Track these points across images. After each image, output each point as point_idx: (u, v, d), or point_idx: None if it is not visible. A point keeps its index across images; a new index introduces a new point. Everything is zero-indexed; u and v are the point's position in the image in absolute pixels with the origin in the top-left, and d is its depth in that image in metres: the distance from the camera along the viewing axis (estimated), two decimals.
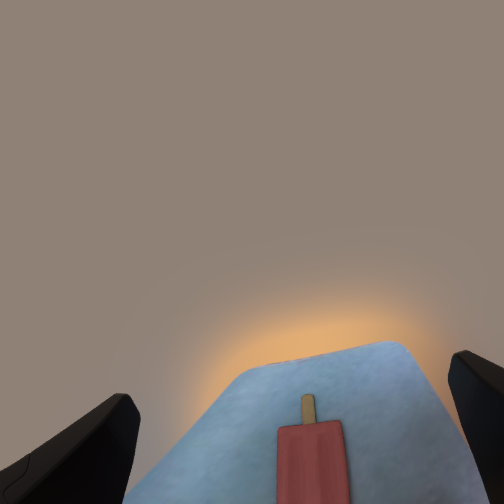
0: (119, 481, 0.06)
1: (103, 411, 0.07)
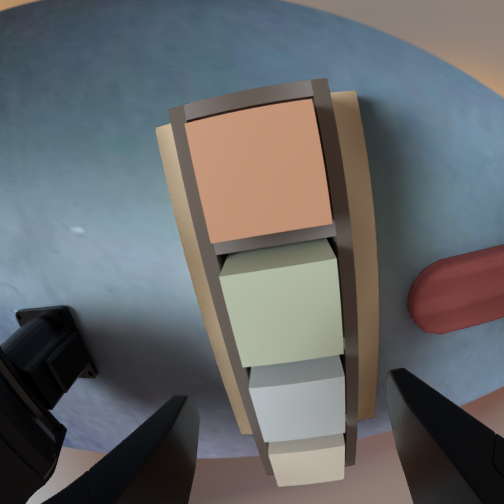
0: (184, 490, 0.06)
1: (167, 415, 0.07)
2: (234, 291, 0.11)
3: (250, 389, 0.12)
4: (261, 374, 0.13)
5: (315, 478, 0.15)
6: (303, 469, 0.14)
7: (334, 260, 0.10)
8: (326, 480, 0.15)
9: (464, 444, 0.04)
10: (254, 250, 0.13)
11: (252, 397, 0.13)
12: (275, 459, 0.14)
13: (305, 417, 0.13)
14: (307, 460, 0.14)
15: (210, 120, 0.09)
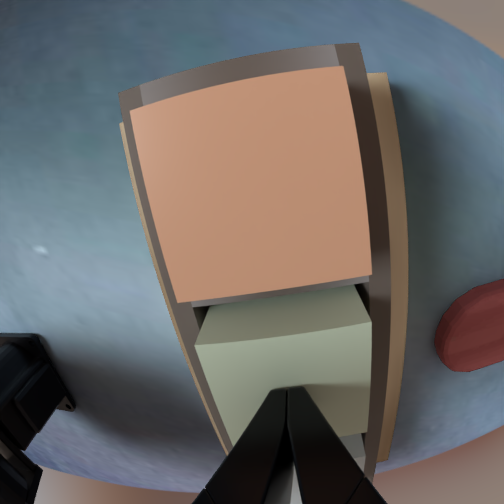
0: (289, 491, 0.06)
1: (274, 412, 0.06)
2: (218, 364, 0.07)
3: None
4: None
5: None
6: None
7: (368, 324, 0.07)
8: None
9: (321, 480, 0.04)
10: None
11: None
12: None
13: None
14: None
15: (170, 103, 0.05)
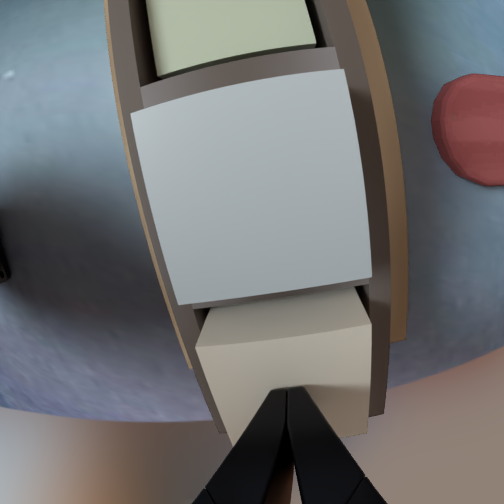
0: (289, 491, 0.06)
1: (274, 412, 0.06)
2: None
3: (133, 116, 0.05)
4: None
5: None
6: None
7: None
8: None
9: (321, 480, 0.04)
10: None
11: (137, 139, 0.05)
12: (214, 363, 0.07)
13: (267, 209, 0.06)
14: (285, 371, 0.07)
15: None
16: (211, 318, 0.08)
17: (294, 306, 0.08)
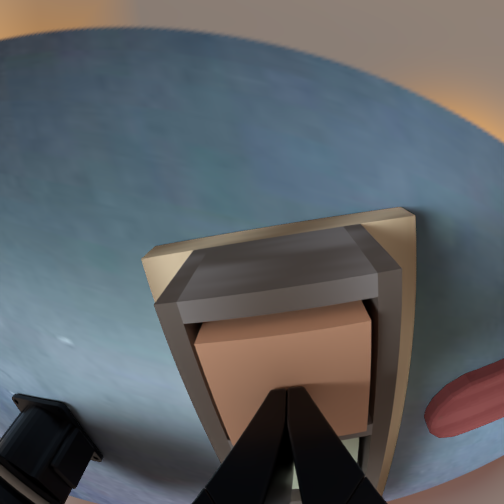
0: (289, 491, 0.06)
1: (274, 412, 0.06)
2: None
3: None
4: None
5: None
6: None
7: None
8: None
9: (321, 481, 0.04)
10: None
11: None
12: None
13: None
14: None
15: (230, 344, 0.07)
16: None
17: None
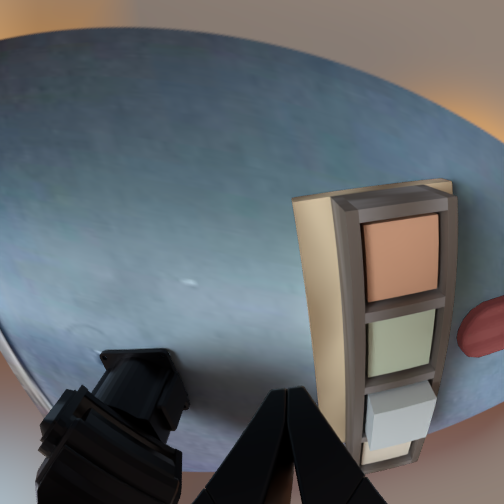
0: (289, 491, 0.06)
1: (274, 412, 0.06)
2: (375, 330, 0.16)
3: (375, 415, 0.15)
4: (379, 402, 0.16)
5: (389, 455, 0.20)
6: None
7: None
8: (395, 456, 0.20)
9: (321, 481, 0.04)
10: None
11: (374, 420, 0.15)
12: None
13: (404, 429, 0.16)
14: None
15: (380, 225, 0.14)
16: None
17: None
